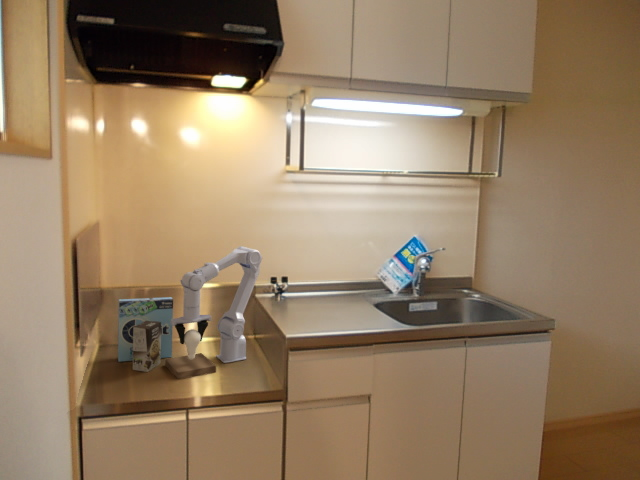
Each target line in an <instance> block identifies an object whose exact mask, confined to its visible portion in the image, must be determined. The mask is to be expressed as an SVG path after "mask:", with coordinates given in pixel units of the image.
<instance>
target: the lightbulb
mask: <svg viewBox="0 0 640 480" xmlns="http://www.w3.org/2000/svg"><path fill="white" fill-rule="evenodd" d="M200 340H201V335H200V333H199V332H198V329H197V330H196V329H194V328H193V329H192V328H191V329H188V330H187V331H185V333H184V345H185V346H186V353H187V355H188V358H189V359H190V360H193V359H194V358H195V354H197V353H196V352H197V348H198V346H199V344H200V342H201V341H200Z"/></svg>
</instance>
